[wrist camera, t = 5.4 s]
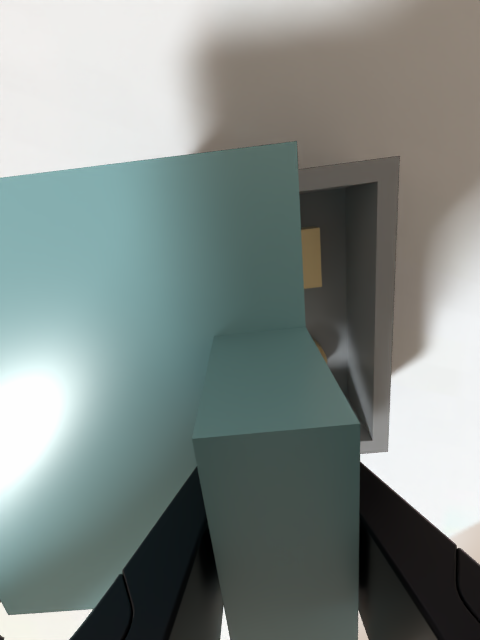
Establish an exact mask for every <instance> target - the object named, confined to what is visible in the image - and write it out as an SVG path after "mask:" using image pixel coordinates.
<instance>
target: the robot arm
mask: <svg viewBox="0 0 480 640" xmlns="http://www.w3.org/2000/svg"><path fill="white" fill-rule="evenodd" d="M0 602H1V600H0ZM223 605H224V604H223V599H222V593H221V588H220V583H219V578H218V573H217V567H216V562H215V557H214V552H213V546H212V541H211V536H210V531H209V526H208V520H207V515H206V510H205V505H204V500H203V494H202V489H201V484H200V479H199V473H198V468H197V466H196V468H195V469H194V470H193V472H192V473H191V475H190V476H189V477H188V479H187V480H186V482H185V483H184V484H183V486H182V487H181V488H180V490H179V491H178V493H177V494H176V495H175V497H174V498H173V500H172V501H171V502H170V504H169V505H168V507H167V508H166V509H165V511H164V512H163V514H162V515H161V516H160V518H159V519H158V521H157V522H156V523H155V525H154V526H153V528H152V529H151V530H150V532H149V533H148V535H147V536H146V537H145V539H144V540H143V542H142V543H141V544H140V546H139V547H138V549H137V550H136V551H135V553H134V554H133V556H132V557H131V558H130V560H129V561H128V562H127V564H126V565H125V567H124V568H123V570H122V574H119V575H118V576H117V578H116V579H115V580H114V582H113V583H112V585H111V586H110V587H109V589H108V590H107V592H106V593H105V594H104V596H103V597H102V598H101V600H100V601H99V602H98V604H97V605H96V606H95V608H94V609H93V610H92V612H91V613H90V614H89V616H88V617H87V618H86V620H85V621H84V622H83V623H82V625H81V626H80V627H79V628H78V630H77V631H76V632H75V633H74V635H73V636H72V637H71V638H70V640H220V635H221V625H222V615H223ZM358 610H359V613H360V615H361V619H362V621H363V624H364V627H365V630H366V633H367V636H368V639H369V640H480V565H479V564H478V563H477V562H476V561H475V560H474V559H472V558H471V557H470V556H469V555H468V554H467V553H466V552H464V551H463V550H462V549H461V548H457V546H456V544H455V543H454V542H453V541H451V540H450V539H449V538H448V537H447V536H446V535H444V534H443V533H442V532H441V531H440V530H439V529H438V528H436V527H435V526H434V525H433V524H432V523H431V522H429V521H428V520H427V519H426V518H425V517H424V516H423V515H421V514H420V513H419V512H418V511H417V510H416V509H414V508H413V507H412V506H411V505H410V504H409V503H407V502H406V501H405V500H404V499H403V498H402V497H401V496H399V495H398V494H397V493H396V492H395V491H394V490H392V489H391V488H390V487H389V486H388V485H387V484H386V483H384V482H383V481H382V480H381V479H380V478H379V477H377V476H376V475H375V474H374V473H373V472H372V471H370V470H369V469H368V468H367V467H366V466H365V465H364V464H362V463H361V462H360V498H359V583H358ZM0 640H4V637H2V636H1V635H0Z"/></svg>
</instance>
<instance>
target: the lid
mask: <svg viewBox="0 0 480 640" xmlns="http://www.w3.org/2000/svg"><path fill="white" fill-rule="evenodd" d="M196 466H197V468H198V473H199V479H200V484H201V489H202V494H203V500H204V505H205V510H206V515H207V520H208V526H209V531H210V536H211V541H212V546H213V552H214V557H215V562H216V567H217V573H218V578H219V583H220V588H221V593H222V599H223V604H224V609H225V614H226V619H227V625H228V630H229V635H230V640H358V583H359V498H360V422H359V420H358V418H357V417H356V415H355V413H354V411H353V410H352V408H351V406H350V404H349V403H348V401H347V399H346V397H345V395H344V394H343V392H342V390H341V388H340V387H339V385H338V383H337V381H336V380H335V378H334V376H333V374H332V372H331V371H330V369H329V367H328V365H327V364H326V362H325V360H324V358H323V357H322V355H321V353H320V351H319V349H318V348H317V346H316V344H315V342H314V341H313V339H312V337H311V335H310V334H309V332H308V330H307V328H306V323H305V302H304V281H303V261H302V240H301V219H300V198H299V177H298V156H297V141H293V142H285V143H277V144H269V145H261V146H253V147H245V148H237V149H229V150H221V151H213V152H205V153H197V154H189V155H181V156H173V157H165V158H157V159H149V160H141V161H133V162H125V163H116V164H108V165H100V166H92V167H84V168H76V169H68V170H60V171H52V172H44V173H36V174H28V175H20V176H12V177H4V178H0V600H1V602H2V604H3V606H4V608H5V610H6V612H7V613H8V615H16V614H30V613H44V612H58V611H72V610H86V609H94V608H95V606H96V605H97V604H98V602H99V601H100V600H101V598H102V597H103V596H104V594H105V593H106V592H107V590H108V589H109V587H110V586H111V585H112V583H113V582H114V580H115V579H116V578H117V576H118V575H119V574H122V570H123V568H124V567H125V565H126V564H127V562H128V561H129V560H130V558H131V557H132V556H133V554H134V553H135V551H136V550H137V549H138V547H139V546H140V544H141V543H142V542H143V540H144V539H145V537H146V536H147V535H148V533H149V532H150V530H151V529H152V528H153V526H154V525H155V523H156V522H157V521H158V519H159V518H160V516H161V515H162V514H163V512H164V511H165V509H166V508H167V507H168V505H169V504H170V502H171V501H172V500H173V498H174V497H175V495H176V494H177V493H178V491H179V490H180V488H181V487H182V486H183V484H184V483H185V482H186V480H187V479H188V477H189V476H190V475H191V473H192V472H193V470H194V469H195V468H196Z"/></svg>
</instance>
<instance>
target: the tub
mask: <svg viewBox="0 0 480 640" xmlns="http://www.w3.org/2000/svg"><path fill="white" fill-rule="evenodd" d="M399 161H400V156H395V157H388V158H380V159H373V160H365V161H358V162H350V163H343V164H335V165H327V166H320V167H312V168H305V169H298V177H299V198H300V219H301V240H302V261H303V281H304V302H305V323H306V328H307V330H308V332H309V334H310V335H311V337H312V339H313V341H314V342H315V344H316V346H317V348H318V349H319V351H320V353H321V355H322V357H323V358H324V360H325V362H326V364H327V365H328V367H329V369H330V371H331V372H332V374H333V376H334V378H335V380H336V381H337V383H338V385H339V387H340V388H341V390H342V392H343V394H344V395H345V397H346V399H347V401H348V403H349V404H350V406H351V408H352V410H353V411H354V413H355V415H356V417H357V418H358V420H359V422H360V454H366V453H378V452H388V437H389V412H390V387H391V362H392V336H393V311H394V286H395V261H396V236H397V211H398V186H399Z"/></svg>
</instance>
